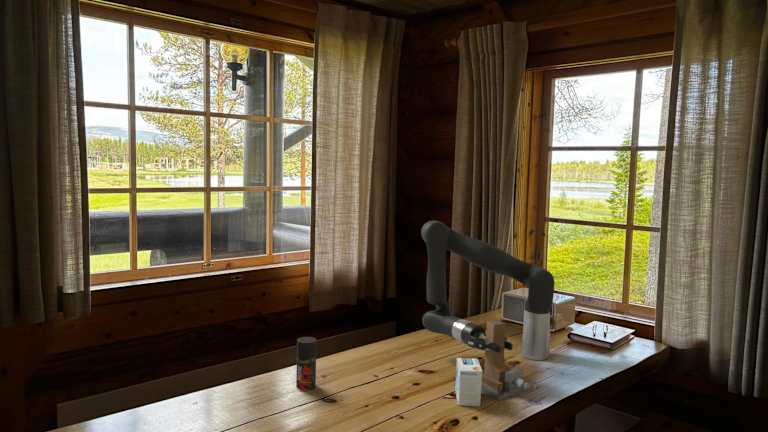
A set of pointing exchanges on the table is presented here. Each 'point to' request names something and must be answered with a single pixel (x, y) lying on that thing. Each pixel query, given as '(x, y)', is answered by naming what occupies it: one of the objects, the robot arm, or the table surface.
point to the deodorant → (306, 363)
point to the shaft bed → (510, 385)
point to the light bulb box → (468, 381)
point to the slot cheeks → (492, 383)
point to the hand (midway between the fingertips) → (505, 348)
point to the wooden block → (494, 360)
